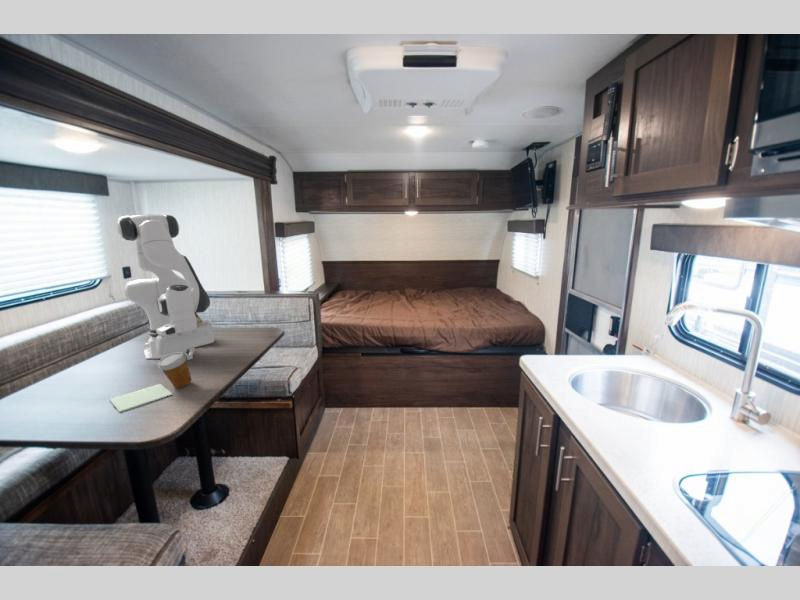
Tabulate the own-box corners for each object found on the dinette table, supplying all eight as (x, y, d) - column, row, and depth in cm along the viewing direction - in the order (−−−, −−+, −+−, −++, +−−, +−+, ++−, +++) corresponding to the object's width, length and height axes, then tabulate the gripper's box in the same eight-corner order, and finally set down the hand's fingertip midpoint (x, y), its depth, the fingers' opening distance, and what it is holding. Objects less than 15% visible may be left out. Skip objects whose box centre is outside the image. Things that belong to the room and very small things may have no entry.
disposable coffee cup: (173, 379, 139) (161, 355, 133) (198, 372, 141) (187, 349, 136) (166, 393, 130) (153, 369, 125) (193, 386, 133) (181, 362, 127)
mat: (109, 400, 123) (109, 399, 123) (160, 385, 136) (159, 383, 136) (119, 412, 115) (119, 411, 115) (172, 395, 127) (172, 393, 127)
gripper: (207, 319, 143) (212, 350, 145) (151, 330, 127) (157, 365, 129) (214, 321, 139) (219, 353, 141) (157, 332, 123) (163, 368, 125)
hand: (189, 359), depth 135 cm, fingers closed
